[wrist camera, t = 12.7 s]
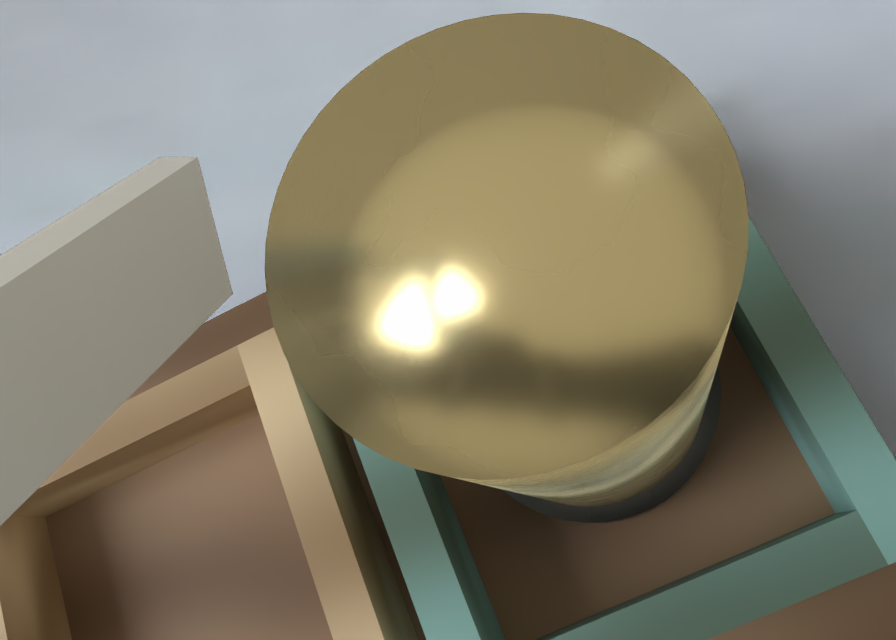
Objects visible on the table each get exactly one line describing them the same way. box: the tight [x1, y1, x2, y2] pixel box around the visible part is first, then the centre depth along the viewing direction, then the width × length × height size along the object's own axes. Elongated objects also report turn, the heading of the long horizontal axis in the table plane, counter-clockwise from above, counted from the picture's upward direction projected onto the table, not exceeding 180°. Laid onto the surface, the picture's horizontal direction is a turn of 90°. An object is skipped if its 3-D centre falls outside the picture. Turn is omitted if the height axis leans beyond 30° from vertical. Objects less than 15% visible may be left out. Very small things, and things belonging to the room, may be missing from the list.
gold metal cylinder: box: [265, 13, 749, 523], centre depth 13 cm, size 5×5×11 cm
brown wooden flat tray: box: [0, 218, 896, 640], centre depth 18 cm, size 13×20×4 cm, turn 113°
